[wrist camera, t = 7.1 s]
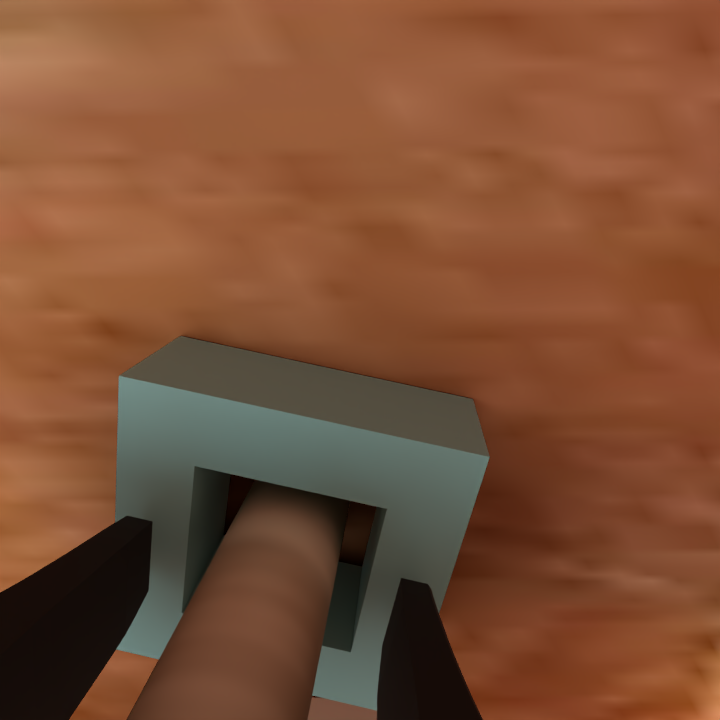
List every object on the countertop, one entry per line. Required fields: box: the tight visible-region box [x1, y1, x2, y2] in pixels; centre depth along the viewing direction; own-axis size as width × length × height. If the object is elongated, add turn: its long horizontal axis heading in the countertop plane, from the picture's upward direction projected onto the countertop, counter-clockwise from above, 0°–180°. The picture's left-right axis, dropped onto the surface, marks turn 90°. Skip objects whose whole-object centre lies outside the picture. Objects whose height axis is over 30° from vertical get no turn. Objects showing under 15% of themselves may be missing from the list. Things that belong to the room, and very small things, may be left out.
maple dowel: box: [127, 480, 350, 720], centre depth 11 cm, size 3×3×8 cm
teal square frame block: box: [115, 336, 490, 711], centre depth 13 cm, size 8×8×3 cm
